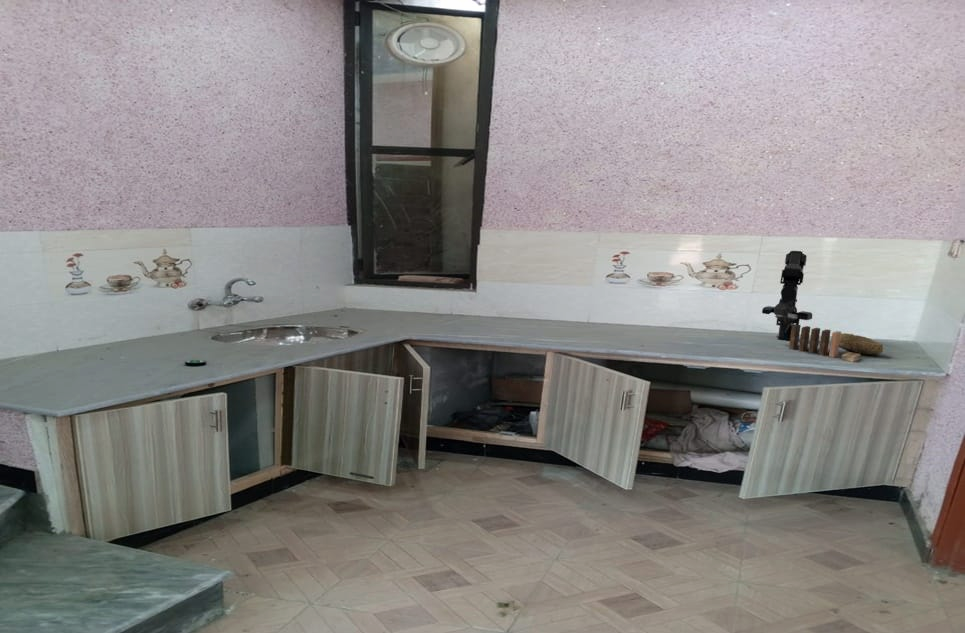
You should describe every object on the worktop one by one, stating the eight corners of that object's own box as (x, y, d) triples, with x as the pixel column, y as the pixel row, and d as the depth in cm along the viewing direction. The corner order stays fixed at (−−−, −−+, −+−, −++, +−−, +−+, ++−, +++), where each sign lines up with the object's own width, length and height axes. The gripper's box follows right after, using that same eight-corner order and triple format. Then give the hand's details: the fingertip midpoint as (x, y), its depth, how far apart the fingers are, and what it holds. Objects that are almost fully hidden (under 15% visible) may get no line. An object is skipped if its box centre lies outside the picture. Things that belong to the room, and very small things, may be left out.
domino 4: (818, 354, 241) (821, 330, 239) (823, 352, 244) (826, 329, 243) (822, 355, 240) (826, 331, 238) (827, 353, 243) (830, 330, 241)
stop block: (841, 359, 234) (842, 354, 233) (848, 356, 239) (849, 352, 238) (852, 361, 231) (853, 357, 230) (859, 358, 236) (860, 354, 235)
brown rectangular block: (788, 348, 250) (792, 325, 248) (793, 347, 253) (796, 324, 251) (792, 349, 249) (795, 326, 247) (797, 347, 252) (800, 325, 250)
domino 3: (808, 352, 244) (811, 329, 242) (813, 350, 247) (816, 327, 245) (812, 353, 243) (815, 329, 241) (817, 351, 246) (820, 328, 244)
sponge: (829, 348, 259) (852, 349, 239) (833, 331, 259) (856, 331, 239) (860, 355, 257) (886, 357, 238) (865, 338, 257) (890, 339, 238)
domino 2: (798, 350, 247) (801, 327, 245) (803, 348, 250) (806, 326, 248) (802, 351, 246) (805, 328, 244) (807, 349, 249) (810, 326, 247)
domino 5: (828, 356, 238) (832, 332, 236) (833, 354, 242) (836, 331, 240) (833, 357, 237) (836, 333, 235) (837, 355, 240) (841, 331, 238)
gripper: (758, 295, 252) (754, 330, 255) (804, 301, 238) (799, 339, 241) (769, 293, 259) (765, 327, 262) (815, 299, 245) (810, 335, 248)
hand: (784, 332), depth 253 cm, fingers closed
